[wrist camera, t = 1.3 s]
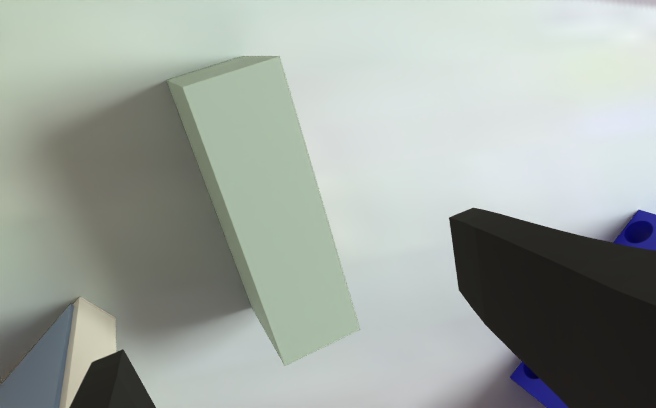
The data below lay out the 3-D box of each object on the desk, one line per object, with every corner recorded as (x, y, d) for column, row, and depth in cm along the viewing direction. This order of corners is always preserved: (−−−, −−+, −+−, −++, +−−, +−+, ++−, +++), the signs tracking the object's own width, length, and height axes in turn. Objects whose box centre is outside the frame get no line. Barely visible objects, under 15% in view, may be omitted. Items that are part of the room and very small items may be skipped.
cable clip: (548, 408, 32) (636, 479, 27) (507, 375, 30) (593, 445, 25) (669, 251, 33) (779, 289, 27) (636, 209, 31) (748, 241, 25)
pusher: (313, 278, 24) (360, 329, 20) (251, 306, 23) (285, 366, 19) (242, 56, 20) (279, 56, 16) (165, 79, 20) (182, 87, 15)
